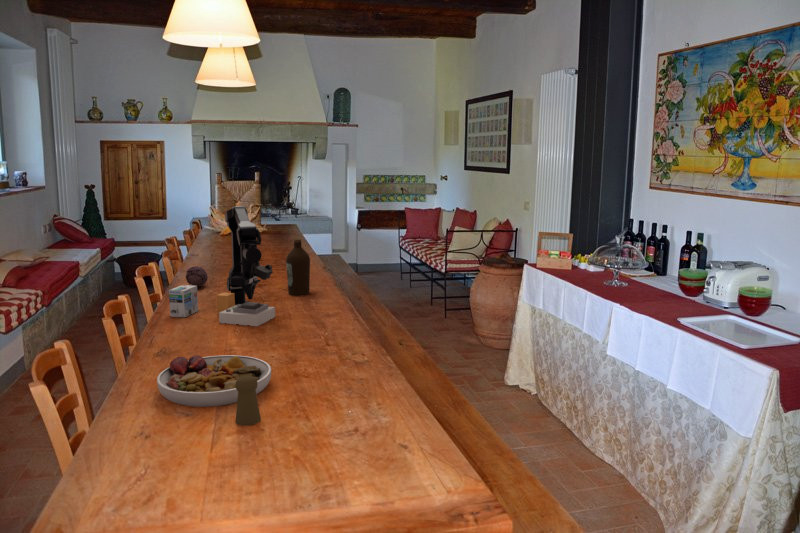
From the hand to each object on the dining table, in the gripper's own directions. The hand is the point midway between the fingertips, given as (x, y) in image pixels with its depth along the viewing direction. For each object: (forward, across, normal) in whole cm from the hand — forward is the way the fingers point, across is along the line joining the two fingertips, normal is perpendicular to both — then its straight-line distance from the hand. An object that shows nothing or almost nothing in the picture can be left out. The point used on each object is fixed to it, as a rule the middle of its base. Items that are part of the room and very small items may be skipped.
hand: (250, 299), depth 245 cm
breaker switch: (+5, 0, 0) cm, 5 cm away
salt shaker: (+8, -82, -46) cm, 94 cm away
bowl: (+9, -66, -27) cm, 72 cm away
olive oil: (+9, +47, +2) cm, 48 cm away
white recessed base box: (+8, 0, +1) cm, 8 cm away
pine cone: (+9, +45, +54) cm, 71 cm away
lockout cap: (+8, +6, +14) cm, 18 cm away
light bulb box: (+9, +1, +30) cm, 31 cm away
